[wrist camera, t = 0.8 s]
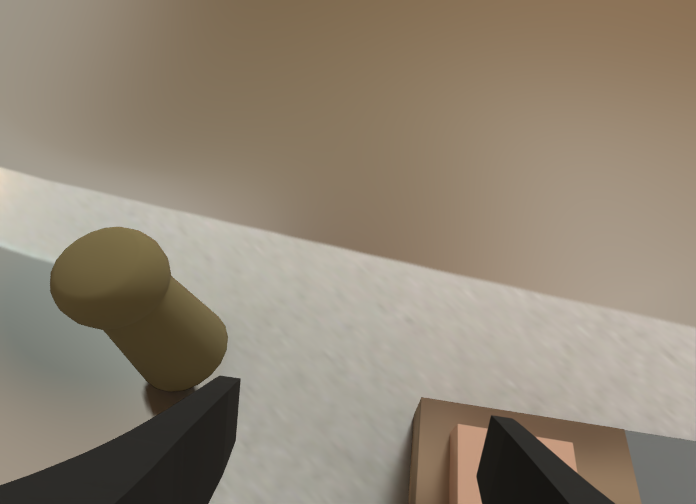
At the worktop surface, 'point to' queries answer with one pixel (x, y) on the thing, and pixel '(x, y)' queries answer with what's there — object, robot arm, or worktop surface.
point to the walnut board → (588, 440)
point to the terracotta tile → (467, 458)
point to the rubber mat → (663, 468)
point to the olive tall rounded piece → (139, 306)
